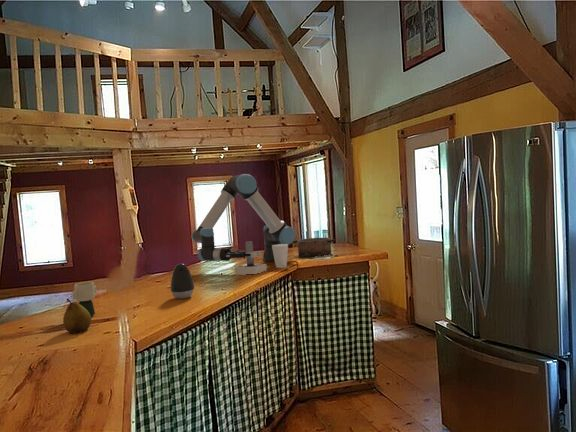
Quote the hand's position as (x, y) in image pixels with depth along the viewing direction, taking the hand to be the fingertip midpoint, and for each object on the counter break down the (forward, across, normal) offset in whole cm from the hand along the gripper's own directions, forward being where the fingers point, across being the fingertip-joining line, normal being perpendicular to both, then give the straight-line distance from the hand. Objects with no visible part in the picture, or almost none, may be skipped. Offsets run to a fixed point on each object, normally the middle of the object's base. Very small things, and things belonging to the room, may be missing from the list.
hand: (258, 254), depth 267 cm
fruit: (-8, +115, -11) cm, 116 cm away
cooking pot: (+4, -70, -11) cm, 71 cm away
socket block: (-5, 0, -10) cm, 12 cm away
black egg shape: (-4, +62, -11) cm, 63 cm away
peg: (-5, 0, -9) cm, 10 cm away
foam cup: (+4, -20, -11) cm, 23 cm away
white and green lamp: (-23, +98, -11) cm, 101 cm away
